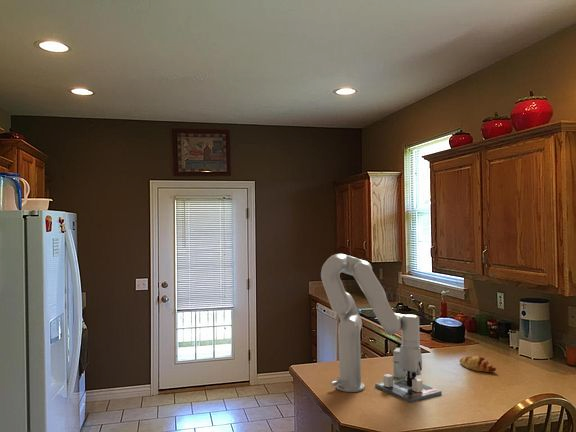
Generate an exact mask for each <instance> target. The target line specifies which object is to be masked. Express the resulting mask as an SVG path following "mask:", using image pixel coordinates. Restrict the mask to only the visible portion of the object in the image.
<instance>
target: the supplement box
mask: <svg viewBox="0 0 576 432" xmlns="http://www.w3.org/2000/svg"><path fill="white" fill-rule="evenodd" d="M399 351H400V347H396V348H395V349H394V350H393V351H392V352H393V355H392V357H393V378H397V379H399V378H403V377H406V373H405V371H404V370H402V369H401V368H400V367H399Z"/></svg>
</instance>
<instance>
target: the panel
mask: <svg viewBox="0 0 576 432" xmlns="http://www.w3.org/2000/svg"><path fill="white" fill-rule="evenodd" d="M422 386H423V391H420V392H416V391H413V390H412V387H409V386H407V381H406V377H403V378H395V379H394V378H393V386H392V387H386V386H384V385H383V381H381V382H376V383H375V384H374V387H375V388H376V389H379V390H381V391H383V392H386V393H387V394H390V395H392V396H393V397H397V398H399V399H400V400H402V401H405V402H407V403H410V404H411V403H415V402H418V401H423V400H426V399H430V398H434V397H437V396H442V390H440V389H438V388H435V387H433V386H429V385H428V384H427V385H426V384H424V383H422Z"/></svg>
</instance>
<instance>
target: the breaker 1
mask: <svg viewBox="0 0 576 432" xmlns="http://www.w3.org/2000/svg"><path fill="white" fill-rule="evenodd" d="M382 376H383V381H382V382H383V385H384V386H386V387H392V386H393V380H394V375H392V374H390V373H386V374H383V375H382Z"/></svg>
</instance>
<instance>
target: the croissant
mask: <svg viewBox="0 0 576 432" xmlns="http://www.w3.org/2000/svg"><path fill="white" fill-rule="evenodd" d="M459 363H460V364H461V365H462V366H464V367H465V368H467V370H471V371H475V370H476V371H475V372H482V371H483V373H493V372H495V371H496V370H497V367H496V366H493V365H492V364H491V363H490V362H489V361H488V360H486V359H485V357H483V356H481V355H476V356H466V357H461V358H460V359H459Z"/></svg>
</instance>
